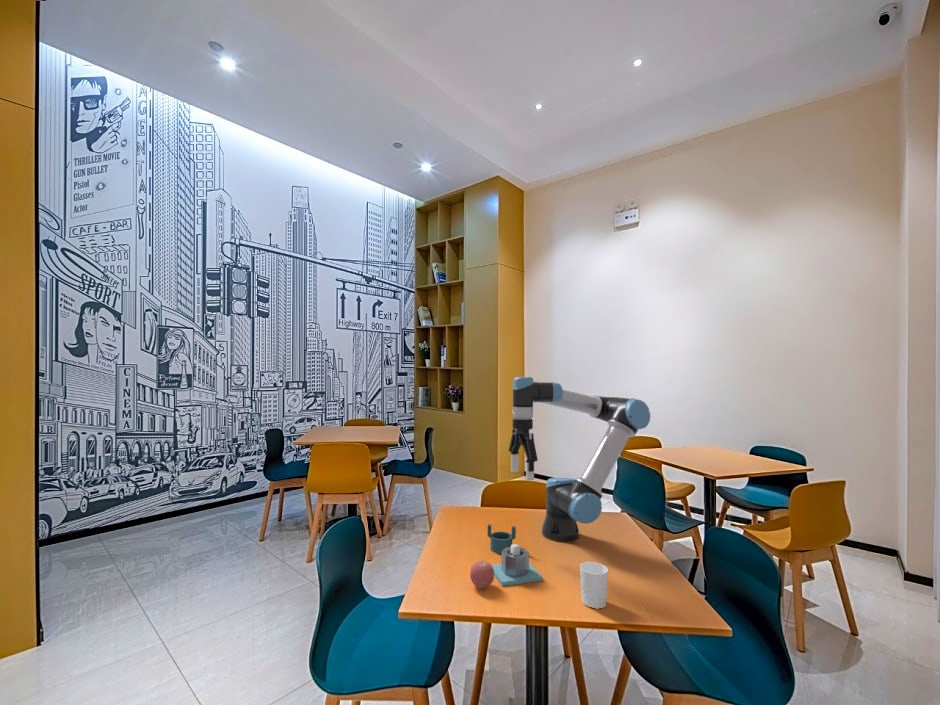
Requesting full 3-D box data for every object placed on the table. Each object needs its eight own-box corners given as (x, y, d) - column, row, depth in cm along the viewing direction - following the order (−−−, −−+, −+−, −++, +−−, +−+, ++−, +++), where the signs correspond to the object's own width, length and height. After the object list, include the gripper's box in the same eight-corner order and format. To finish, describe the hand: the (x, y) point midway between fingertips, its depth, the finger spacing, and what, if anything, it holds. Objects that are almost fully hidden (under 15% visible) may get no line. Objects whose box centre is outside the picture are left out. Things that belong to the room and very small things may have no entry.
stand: (526, 563, 144) (527, 537, 144) (542, 580, 132) (542, 551, 133) (489, 568, 140) (489, 540, 140) (502, 586, 128) (502, 555, 129)
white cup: (576, 596, 123) (576, 561, 124) (601, 595, 124) (601, 561, 124) (585, 611, 115) (585, 574, 116) (612, 610, 116) (612, 573, 117)
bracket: (517, 551, 154) (517, 526, 155) (497, 556, 149) (497, 530, 150) (503, 542, 162) (504, 519, 162) (484, 547, 157) (484, 523, 158)
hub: (521, 563, 141) (521, 545, 141) (532, 575, 133) (532, 556, 133) (498, 566, 139) (498, 548, 139) (508, 578, 131) (508, 559, 131)
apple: (470, 580, 131) (470, 554, 132) (493, 581, 131) (493, 555, 131) (469, 592, 124) (470, 565, 124) (494, 593, 124) (494, 566, 124)
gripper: (501, 415, 164) (500, 468, 163) (527, 422, 140) (527, 485, 139) (518, 414, 166) (517, 467, 165) (547, 421, 143) (547, 483, 141)
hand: (522, 475), depth 152 cm, fingers open, 13 cm apart
